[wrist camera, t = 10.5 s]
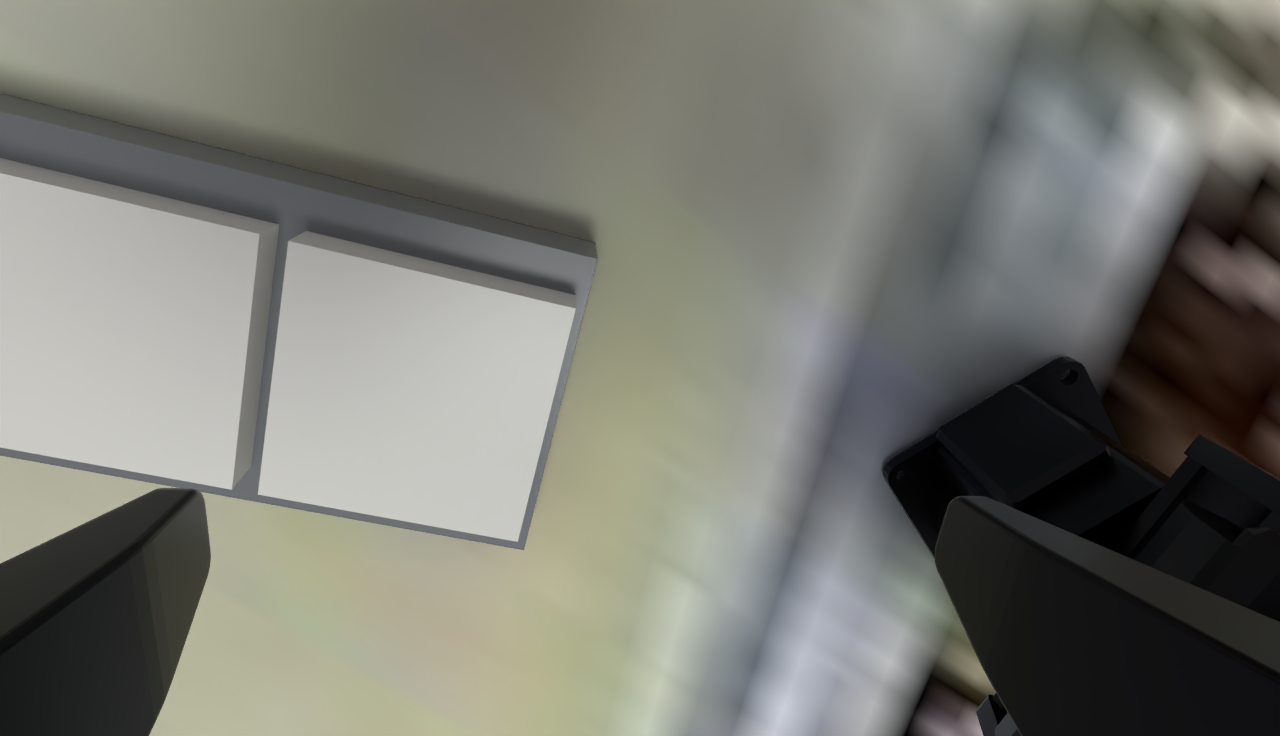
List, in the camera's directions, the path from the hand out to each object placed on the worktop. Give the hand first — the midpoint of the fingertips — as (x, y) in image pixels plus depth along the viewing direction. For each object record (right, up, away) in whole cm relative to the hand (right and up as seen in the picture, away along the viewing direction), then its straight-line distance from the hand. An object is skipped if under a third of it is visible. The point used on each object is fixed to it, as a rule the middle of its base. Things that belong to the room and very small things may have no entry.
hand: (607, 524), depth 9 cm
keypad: (-13, +4, +11) cm, 17 cm away
